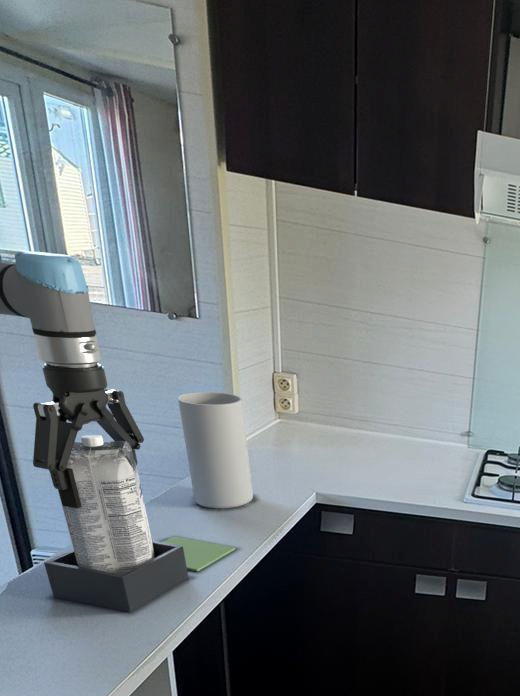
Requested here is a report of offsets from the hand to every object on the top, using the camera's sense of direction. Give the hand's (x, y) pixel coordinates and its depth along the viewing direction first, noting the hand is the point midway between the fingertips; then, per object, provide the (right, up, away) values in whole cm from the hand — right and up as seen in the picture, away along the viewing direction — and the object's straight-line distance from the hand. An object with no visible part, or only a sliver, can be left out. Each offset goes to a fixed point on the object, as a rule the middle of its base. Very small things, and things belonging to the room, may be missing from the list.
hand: (103, 495), depth 107 cm
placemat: (0, -10, +21) cm, 23 cm away
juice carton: (-2, -16, +7) cm, 17 cm away
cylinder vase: (-8, +3, +47) cm, 48 cm away
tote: (-2, -16, +8) cm, 18 cm away
